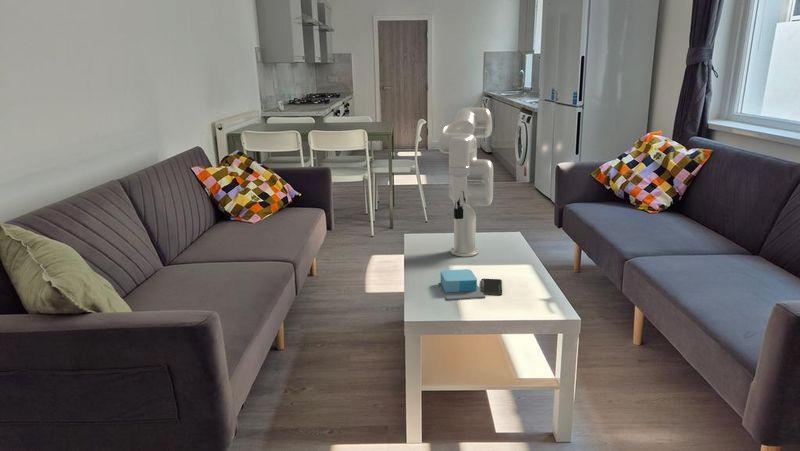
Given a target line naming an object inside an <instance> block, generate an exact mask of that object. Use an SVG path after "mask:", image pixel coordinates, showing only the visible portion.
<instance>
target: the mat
mask: <svg viewBox="0 0 800 451" xmlns="http://www.w3.org/2000/svg"><path fill="white" fill-rule="evenodd" d="M437 283H438V286H439V288H440V290H441V292H442V294H443V296H444V298H445V299H447V300H446V301H459V300H460V299H461V301H463V300H472V299H471V298H478V299H486V295H484V294H483V293H481V292H482V291H481V287H479V285H478V284H477V290H476V291H471V292H452V293H448V292H445V291H444V289H443V286H442V284H441V282H437Z"/></svg>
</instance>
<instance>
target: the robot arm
mask: <svg viewBox="0 0 800 451" xmlns="http://www.w3.org/2000/svg"><path fill="white" fill-rule="evenodd" d="M492 118H493V117H492V112H491V111H490V110H489V109H488V108H487V107H484V106H483V107H476V106H475V107H474V106H473V107H470V106H469V107H463V108H460V109H459V110H458V111H457V112H456V114H455V119H453V121H452V122H451V123H449V124H447V125H445V126H444V127H442V129H441V130H440V132H439V137H438V140H437V141H438V142H437V147H438V150H439V152H441V153H442V154H448V175H449V176H450V177H449V190H448V191H449V192H448V193H449V194H448V197H449V199H450V200H451V201H452V202H453V218H454V219H453V220H454V222H453V223H454V225H453V229H454V230H453V247H451V249H450V254H451V255H454V256H457V257H474V256H476V255H478V254H479V249H478V248H477V247H476V229H477V227H476V226H477V223H476V222H477V218H476V217H477V216H476V215H477V214H476V212H475V210H474V209H473V207H472V206H479V207H481V206H485V207H486V206H490V205H492V202H493V199H494V164H493V162H492V161H491V160H490V159H481V158H480V159H479V158H477V156H478V148H477V145H478V144H477V143H478V142H477V139H479V138H480V139H481V138H483V139H485V138H488V137H491V135H492V131H493V119H492ZM468 181H469V183H468ZM470 182H472V183H470ZM473 182H482V183H473Z"/></svg>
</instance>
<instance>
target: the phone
mask: <svg viewBox="0 0 800 451" xmlns="http://www.w3.org/2000/svg"><path fill="white" fill-rule="evenodd" d="M502 281H503V280H502V279H500V278H498V279H497V278H482V279H481V278H480V290H481V291H482V292H481V293H483V294H484V295H485V296H500V297H501V296H503V284H502V283H503V282H502Z"/></svg>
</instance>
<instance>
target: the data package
mask: <svg viewBox="0 0 800 451" xmlns="http://www.w3.org/2000/svg"><path fill="white" fill-rule="evenodd" d="M440 283H441V284H442V286H443V289H444V291H445V292H448V293H452V292H471V291H476V290H477V285H478V278H477V276H476V275H475V274H474V272H473V270H471V269H468V268H467V269H464V268H463V269H447V270H446V269H445V270H441V271H440Z"/></svg>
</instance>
